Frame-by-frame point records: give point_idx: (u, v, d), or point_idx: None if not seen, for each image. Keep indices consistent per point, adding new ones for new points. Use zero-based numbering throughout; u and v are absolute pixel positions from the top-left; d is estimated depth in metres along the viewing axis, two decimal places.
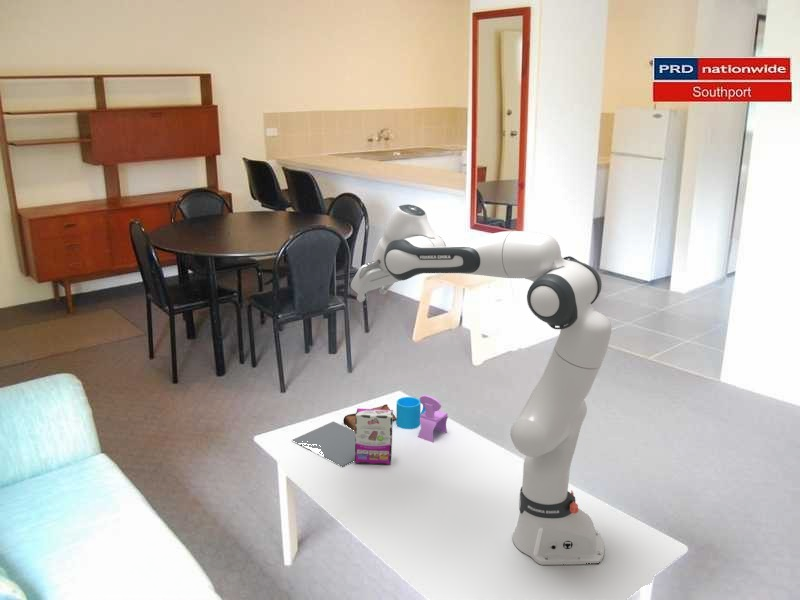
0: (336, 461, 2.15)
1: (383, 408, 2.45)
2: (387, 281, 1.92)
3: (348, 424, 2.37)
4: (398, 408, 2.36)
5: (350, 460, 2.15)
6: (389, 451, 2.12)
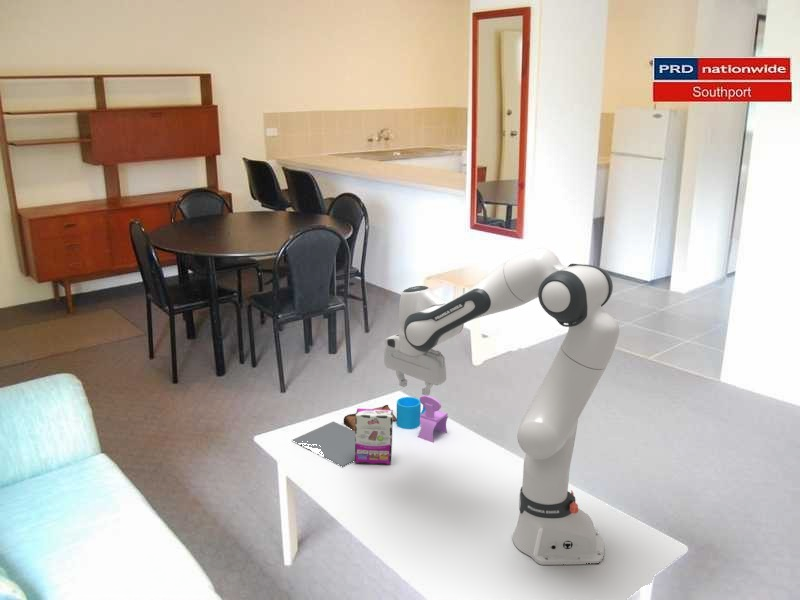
0: (336, 461, 2.15)
1: (384, 408, 2.44)
2: None
3: (348, 424, 2.37)
4: (399, 408, 2.36)
5: (350, 460, 2.15)
6: (389, 451, 2.12)
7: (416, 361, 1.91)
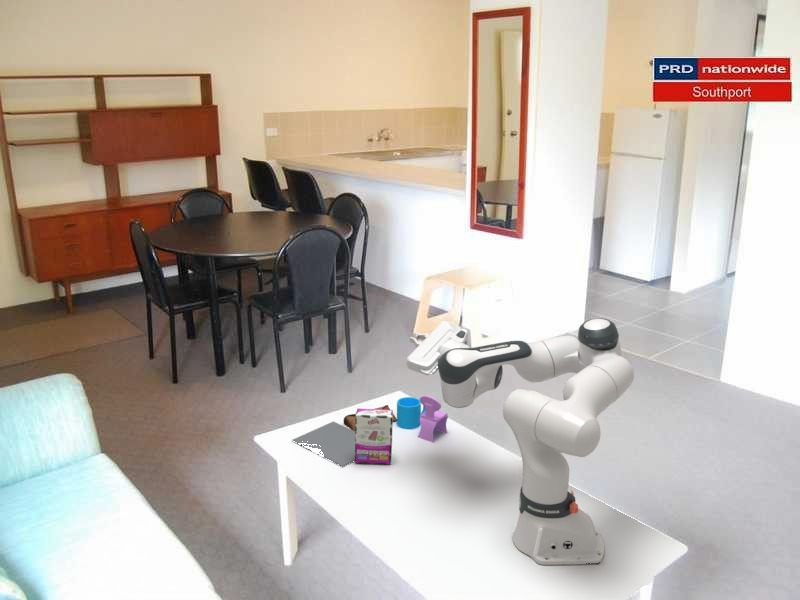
0: (336, 461, 2.15)
1: (384, 409, 2.44)
2: None
3: (348, 424, 2.37)
4: (399, 409, 2.36)
5: (350, 460, 2.15)
6: (389, 451, 2.12)
7: (435, 349, 2.01)
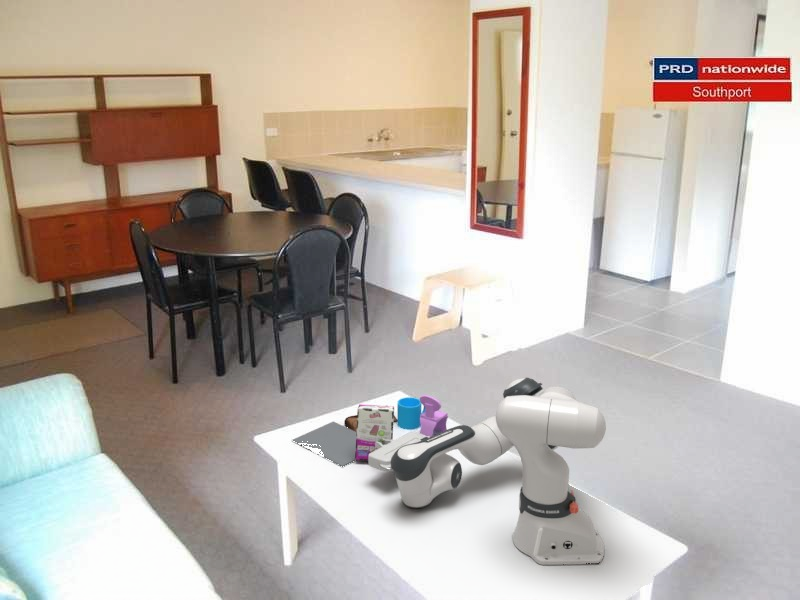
0: (336, 461, 2.15)
1: None
2: None
3: (349, 426, 2.36)
4: (399, 409, 2.36)
5: (350, 460, 2.15)
6: None
7: (398, 450, 2.03)
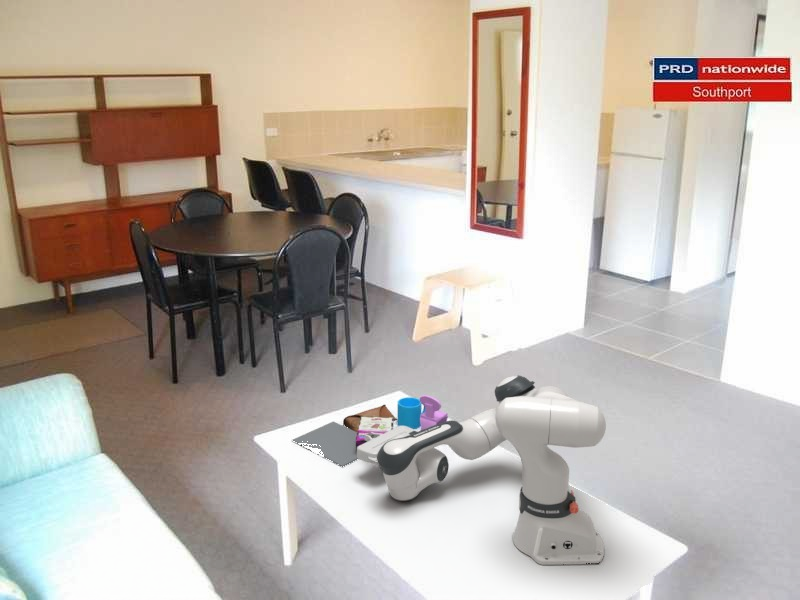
0: (336, 461, 2.15)
1: (382, 408, 2.45)
2: None
3: (348, 425, 2.36)
4: (400, 409, 2.35)
5: (350, 460, 2.15)
6: None
7: None
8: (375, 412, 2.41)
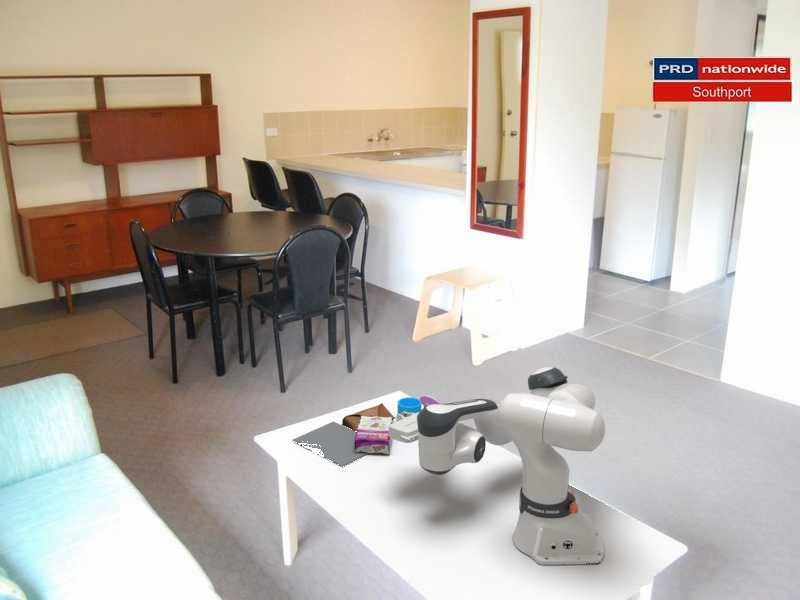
0: (336, 461, 2.15)
1: (380, 407, 2.46)
2: None
3: (348, 425, 2.37)
4: (400, 409, 2.35)
5: (350, 460, 2.15)
6: None
7: None
8: (373, 411, 2.42)
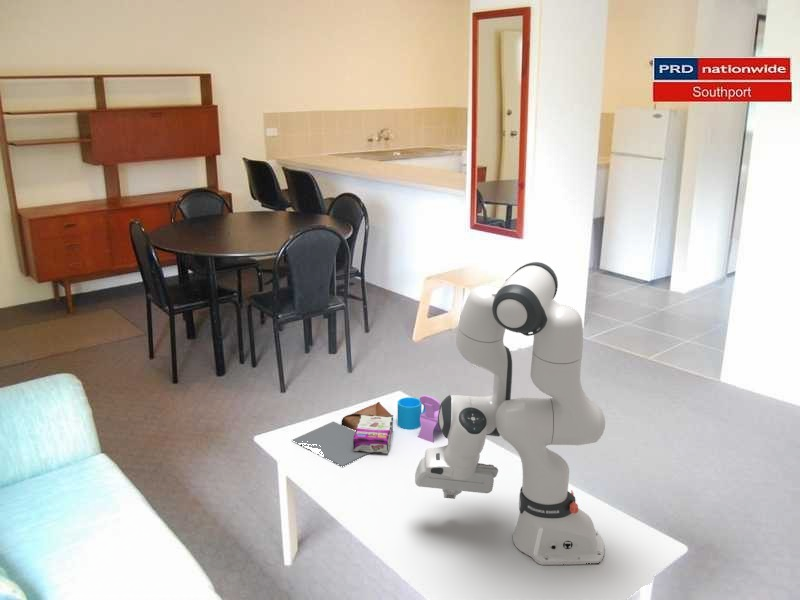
0: (336, 461, 2.15)
1: (377, 406, 2.47)
2: None
3: (348, 425, 2.37)
4: (400, 409, 2.35)
5: (350, 460, 2.15)
6: (388, 433, 2.22)
7: None
8: (372, 410, 2.43)
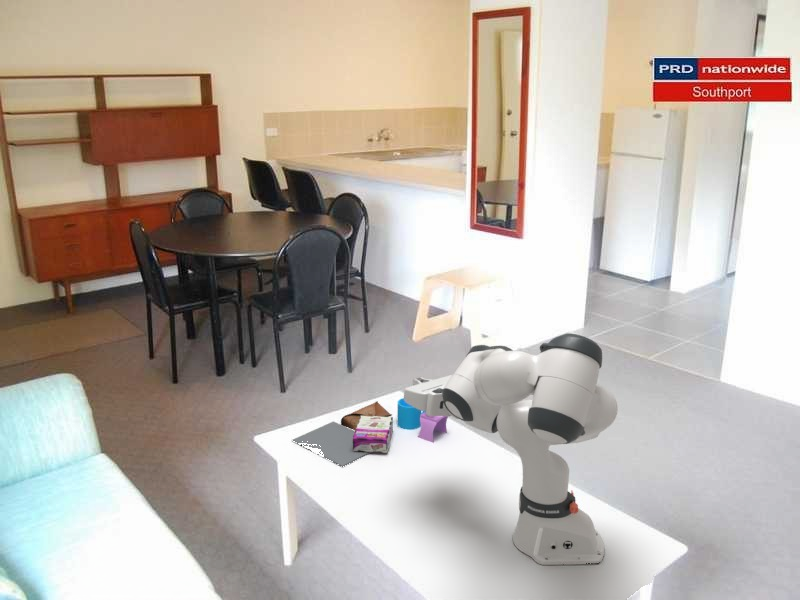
0: (336, 461, 2.15)
1: (375, 405, 2.47)
2: (430, 383, 1.88)
3: (347, 424, 2.37)
4: (400, 409, 2.35)
5: (350, 460, 2.15)
6: (387, 433, 2.22)
7: None
8: (370, 409, 2.43)
